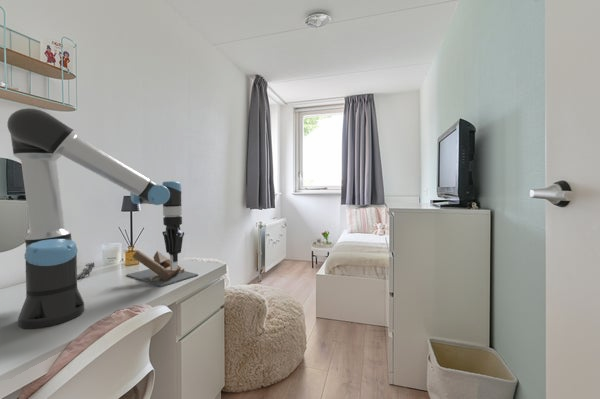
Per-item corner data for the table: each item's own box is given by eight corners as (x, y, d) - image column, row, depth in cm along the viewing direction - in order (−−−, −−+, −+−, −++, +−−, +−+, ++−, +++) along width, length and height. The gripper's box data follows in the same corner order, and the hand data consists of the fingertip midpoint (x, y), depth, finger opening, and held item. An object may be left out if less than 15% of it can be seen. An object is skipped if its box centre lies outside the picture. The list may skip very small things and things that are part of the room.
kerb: (151, 281, 116) (151, 277, 116) (149, 280, 116) (149, 277, 116) (184, 271, 129) (184, 268, 129) (182, 271, 130) (182, 268, 130)
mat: (161, 287, 110) (161, 285, 110) (126, 275, 125) (126, 274, 125) (198, 275, 126) (198, 274, 125) (163, 266, 140) (163, 265, 140)
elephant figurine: (67, 279, 121) (85, 266, 129) (77, 287, 122) (95, 275, 130) (74, 267, 117) (93, 255, 125) (86, 276, 118) (103, 264, 126)
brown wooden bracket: (181, 267, 126) (150, 246, 127) (168, 274, 115) (135, 251, 116) (177, 273, 126) (146, 252, 127) (164, 281, 115) (130, 258, 116)
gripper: (189, 215, 120) (190, 268, 120) (172, 215, 126) (173, 265, 126) (173, 216, 113) (174, 272, 113) (156, 216, 120) (157, 269, 120)
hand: (174, 268), depth 120 cm, fingers closed
